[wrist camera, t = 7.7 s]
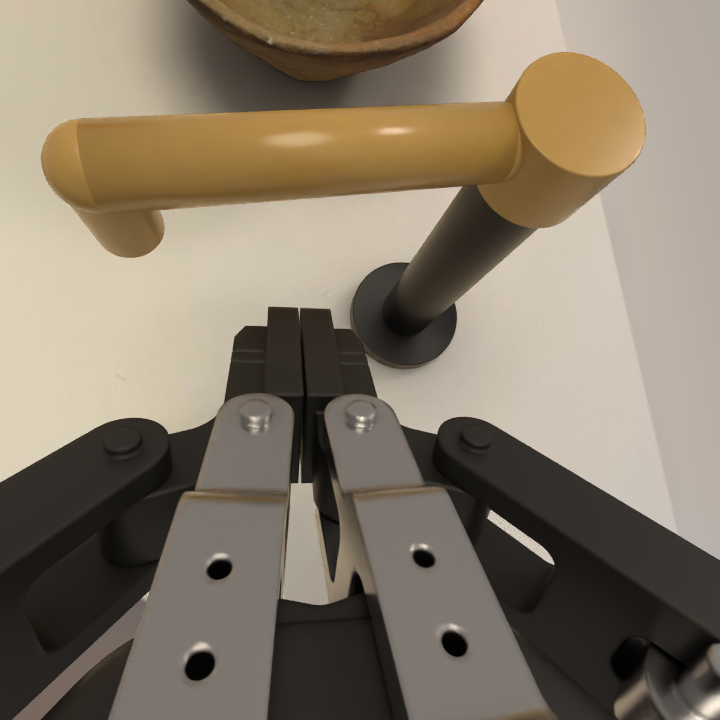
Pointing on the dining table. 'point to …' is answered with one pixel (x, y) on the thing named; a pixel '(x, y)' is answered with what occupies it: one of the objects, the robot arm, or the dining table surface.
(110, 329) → the dining table surface
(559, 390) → the dining table surface
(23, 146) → the dining table surface
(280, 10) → the bowl
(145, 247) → the spout
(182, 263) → the dining table surface
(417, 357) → the black post with base
